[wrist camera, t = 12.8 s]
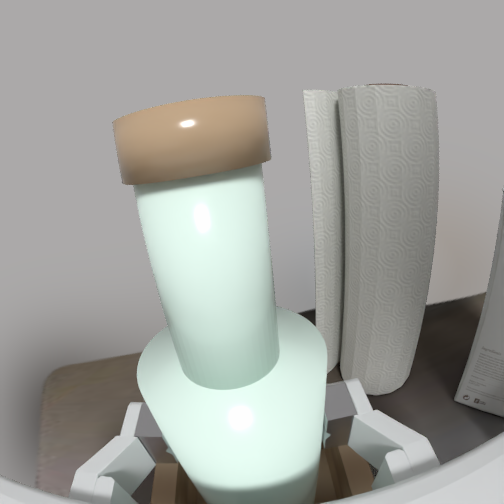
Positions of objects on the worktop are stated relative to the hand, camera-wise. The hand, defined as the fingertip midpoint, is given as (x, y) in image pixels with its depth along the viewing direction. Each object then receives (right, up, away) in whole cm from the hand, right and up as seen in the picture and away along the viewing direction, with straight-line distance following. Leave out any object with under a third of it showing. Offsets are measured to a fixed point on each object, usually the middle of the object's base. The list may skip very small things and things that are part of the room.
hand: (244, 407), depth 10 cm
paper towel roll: (+10, -5, +14) cm, 18 cm away
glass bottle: (+1, -8, +2) cm, 9 cm away
